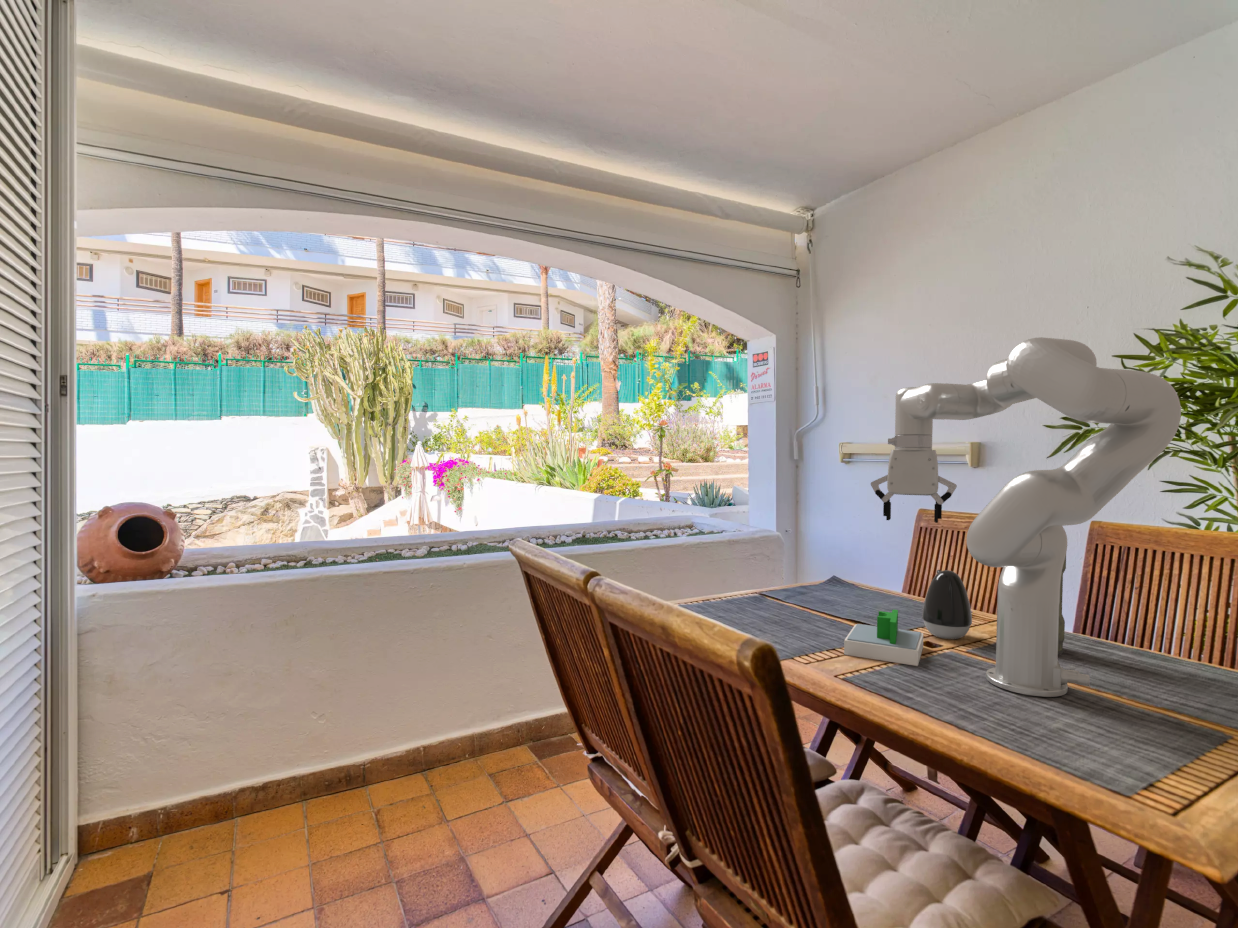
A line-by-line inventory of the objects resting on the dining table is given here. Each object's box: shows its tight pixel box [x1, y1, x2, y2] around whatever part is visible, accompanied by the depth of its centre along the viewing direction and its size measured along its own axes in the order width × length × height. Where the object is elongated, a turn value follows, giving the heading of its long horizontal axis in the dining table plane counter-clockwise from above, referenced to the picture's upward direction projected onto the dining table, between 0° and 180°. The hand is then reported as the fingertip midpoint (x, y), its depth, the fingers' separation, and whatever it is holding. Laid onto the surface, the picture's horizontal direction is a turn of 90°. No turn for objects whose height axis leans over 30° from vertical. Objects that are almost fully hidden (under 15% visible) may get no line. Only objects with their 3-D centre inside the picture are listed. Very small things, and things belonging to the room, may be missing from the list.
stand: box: [843, 623, 924, 667], centre depth 137 cm, size 14×14×3 cm
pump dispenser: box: [921, 569, 973, 640], centre depth 148 cm, size 10×10×15 cm
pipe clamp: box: [876, 609, 899, 644], centre depth 136 cm, size 11×4×5 cm, turn 155°
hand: (911, 520), depth 143 cm, fingers open, 9 cm apart
